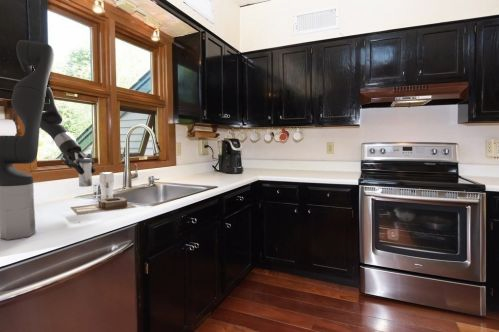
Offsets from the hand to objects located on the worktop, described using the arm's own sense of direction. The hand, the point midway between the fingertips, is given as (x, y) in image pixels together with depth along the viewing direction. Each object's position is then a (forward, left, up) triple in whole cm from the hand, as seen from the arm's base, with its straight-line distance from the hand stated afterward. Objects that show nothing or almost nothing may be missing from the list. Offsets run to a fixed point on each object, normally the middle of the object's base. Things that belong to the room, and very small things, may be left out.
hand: (88, 172), depth 125 cm
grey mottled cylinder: (+2, +1, -6) cm, 6 cm away
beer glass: (+25, -13, -18) cm, 33 cm away
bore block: (+2, -6, -18) cm, 19 cm away
